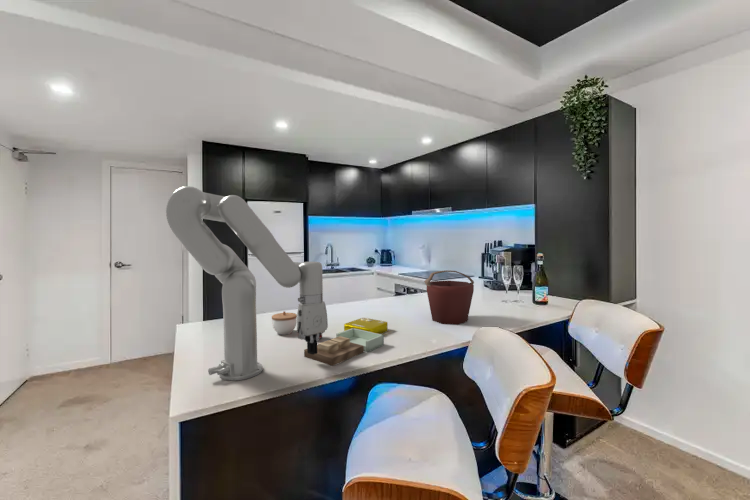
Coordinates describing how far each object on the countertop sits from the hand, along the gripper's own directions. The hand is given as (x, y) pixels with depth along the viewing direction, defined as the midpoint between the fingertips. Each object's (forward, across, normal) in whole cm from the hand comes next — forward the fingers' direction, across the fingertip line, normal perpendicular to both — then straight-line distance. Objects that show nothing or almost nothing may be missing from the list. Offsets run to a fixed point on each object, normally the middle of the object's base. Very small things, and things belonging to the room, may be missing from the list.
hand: (312, 353), depth 112 cm
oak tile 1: (+1, +7, 0) cm, 7 cm away
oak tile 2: (+1, +13, 0) cm, 13 cm away
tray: (+4, +24, 0) cm, 25 cm away
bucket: (+4, +80, -11) cm, 81 cm away
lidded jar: (+4, +16, +37) cm, 41 cm away
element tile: (+4, +39, +10) cm, 41 cm away
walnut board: (+4, +10, 0) cm, 11 cm away
